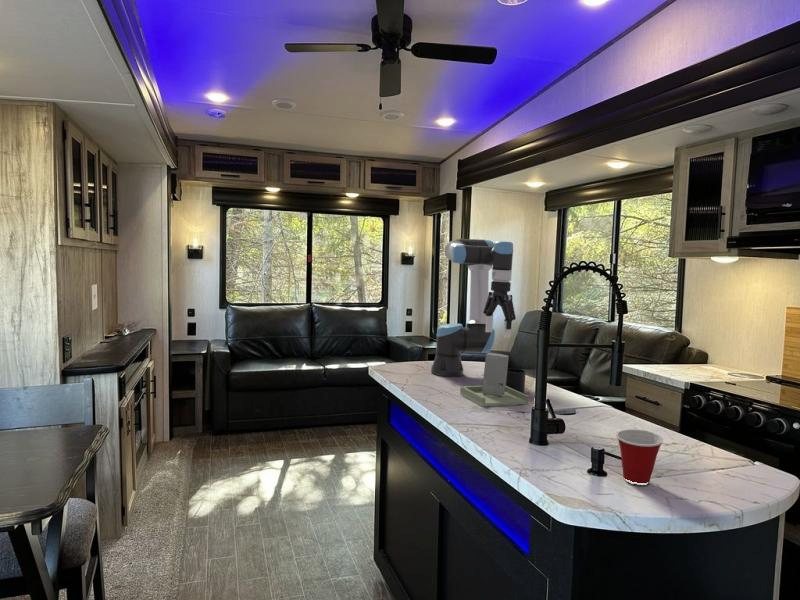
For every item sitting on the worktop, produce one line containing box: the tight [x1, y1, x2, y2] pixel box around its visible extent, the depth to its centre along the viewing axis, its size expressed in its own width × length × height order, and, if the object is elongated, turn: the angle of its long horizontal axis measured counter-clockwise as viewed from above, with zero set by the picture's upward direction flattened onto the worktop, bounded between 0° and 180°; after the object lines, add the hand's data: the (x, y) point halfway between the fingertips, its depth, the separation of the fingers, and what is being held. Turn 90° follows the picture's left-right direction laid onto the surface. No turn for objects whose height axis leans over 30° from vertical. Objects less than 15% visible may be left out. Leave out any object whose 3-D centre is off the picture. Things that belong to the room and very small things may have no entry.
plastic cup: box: [615, 428, 664, 483], centre depth 134 cm, size 11×11×12 cm
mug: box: [506, 367, 527, 394], centre depth 224 cm, size 9×12×9 cm
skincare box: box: [481, 352, 510, 396], centre depth 212 cm, size 8×7×16 cm
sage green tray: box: [459, 385, 530, 408], centre depth 209 cm, size 18×20×3 cm
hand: (497, 334), depth 211 cm, fingers open, 13 cm apart
